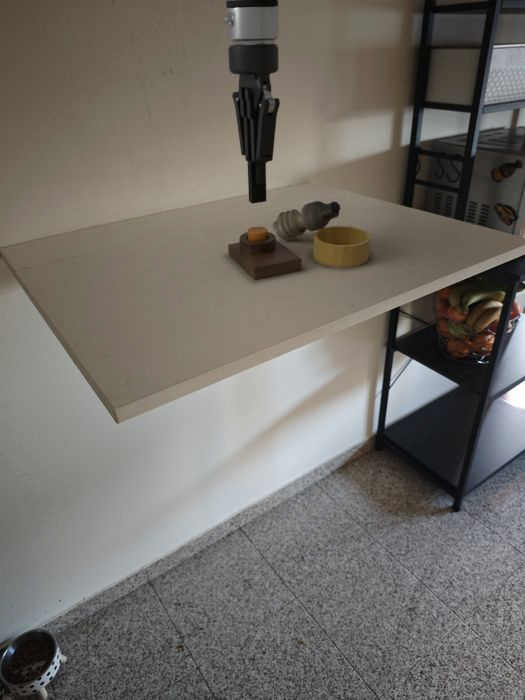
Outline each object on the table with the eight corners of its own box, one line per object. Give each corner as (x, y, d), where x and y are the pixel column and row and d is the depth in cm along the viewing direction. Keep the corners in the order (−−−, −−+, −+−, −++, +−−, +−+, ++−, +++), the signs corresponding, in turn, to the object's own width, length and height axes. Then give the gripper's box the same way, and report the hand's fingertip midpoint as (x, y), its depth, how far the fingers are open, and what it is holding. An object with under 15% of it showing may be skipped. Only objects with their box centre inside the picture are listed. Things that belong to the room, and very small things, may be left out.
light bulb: (326, 207, 87) (265, 227, 98) (341, 231, 90) (280, 247, 100) (337, 187, 90) (276, 208, 100) (352, 210, 93) (291, 229, 103)
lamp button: (270, 240, 90) (270, 231, 89) (252, 244, 89) (252, 234, 88) (262, 234, 93) (262, 225, 92) (244, 237, 92) (244, 228, 91)
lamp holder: (379, 260, 91) (382, 239, 89) (331, 271, 87) (332, 250, 85) (348, 242, 98) (350, 222, 96) (303, 251, 95) (303, 231, 93)
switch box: (301, 269, 88) (301, 248, 86) (254, 280, 85) (254, 258, 83) (271, 247, 97) (271, 227, 95) (228, 255, 94) (227, 235, 92)
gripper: (214, 43, 78) (224, 195, 91) (247, 44, 68) (253, 215, 81) (257, 41, 80) (261, 189, 93) (296, 42, 70) (294, 208, 83)
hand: (257, 201), depth 87 cm, fingers closed
